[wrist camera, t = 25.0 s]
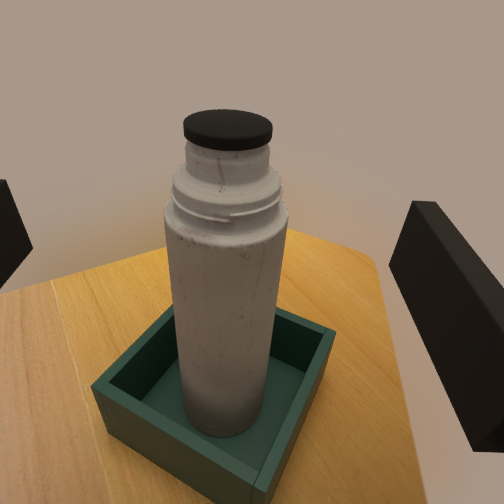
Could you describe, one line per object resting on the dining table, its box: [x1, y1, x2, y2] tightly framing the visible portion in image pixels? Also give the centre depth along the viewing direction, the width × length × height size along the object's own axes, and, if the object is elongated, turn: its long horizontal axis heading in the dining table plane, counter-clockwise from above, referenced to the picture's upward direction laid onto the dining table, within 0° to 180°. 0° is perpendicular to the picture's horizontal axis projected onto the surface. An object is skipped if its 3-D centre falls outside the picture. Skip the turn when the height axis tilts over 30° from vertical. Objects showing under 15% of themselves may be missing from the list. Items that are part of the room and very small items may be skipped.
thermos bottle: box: [164, 109, 288, 438], centre depth 28 cm, size 8×8×28 cm
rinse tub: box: [91, 304, 336, 504], centre depth 35 cm, size 16×16×8 cm
